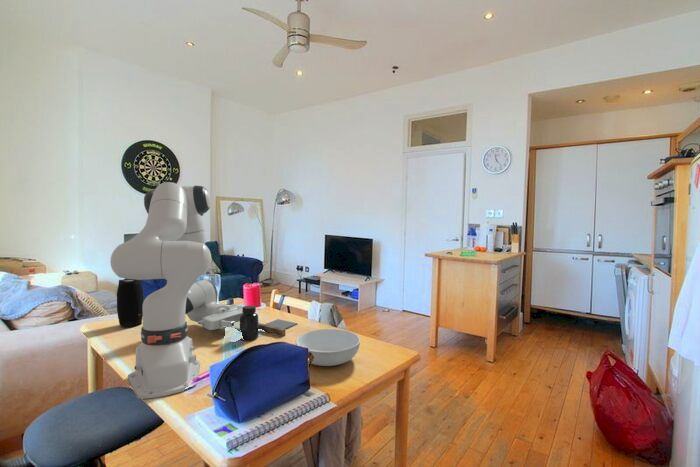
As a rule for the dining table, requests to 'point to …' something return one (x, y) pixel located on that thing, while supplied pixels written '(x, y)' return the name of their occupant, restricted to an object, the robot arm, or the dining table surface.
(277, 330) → the walnut rail
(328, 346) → the serving bowl
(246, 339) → the supplement bottle
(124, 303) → the portable speaker
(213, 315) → the robot arm
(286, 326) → the grey mat
